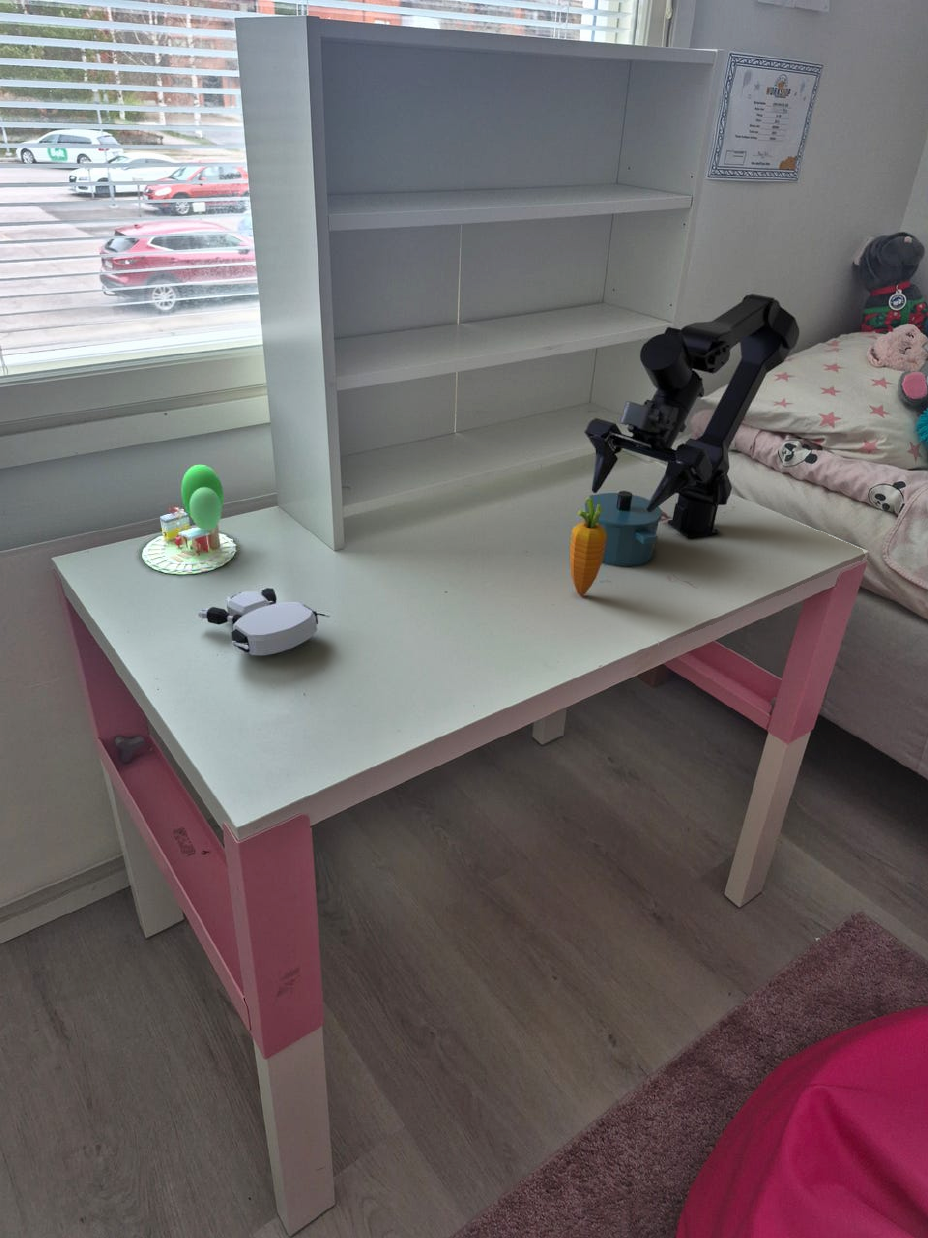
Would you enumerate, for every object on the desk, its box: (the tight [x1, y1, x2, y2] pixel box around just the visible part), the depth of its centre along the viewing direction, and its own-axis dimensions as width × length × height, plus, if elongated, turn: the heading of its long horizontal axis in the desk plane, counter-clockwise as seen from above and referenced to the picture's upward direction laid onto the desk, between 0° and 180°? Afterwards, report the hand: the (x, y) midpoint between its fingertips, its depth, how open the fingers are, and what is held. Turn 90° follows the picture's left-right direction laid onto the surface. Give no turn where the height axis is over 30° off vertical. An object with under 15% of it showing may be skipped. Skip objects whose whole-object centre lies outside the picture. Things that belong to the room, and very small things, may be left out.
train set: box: [141, 464, 237, 575], centre depth 130 cm, size 15×14×14 cm
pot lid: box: [584, 490, 663, 528], centre depth 137 cm, size 12×12×4 cm
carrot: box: [569, 497, 607, 597], centre depth 123 cm, size 5×5×15 cm
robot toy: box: [197, 587, 331, 656], centre depth 113 cm, size 12×4×15 cm
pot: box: [583, 494, 660, 567], centre depth 139 cm, size 11×17×7 cm
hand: (620, 501), depth 124 cm, fingers open, 9 cm apart
